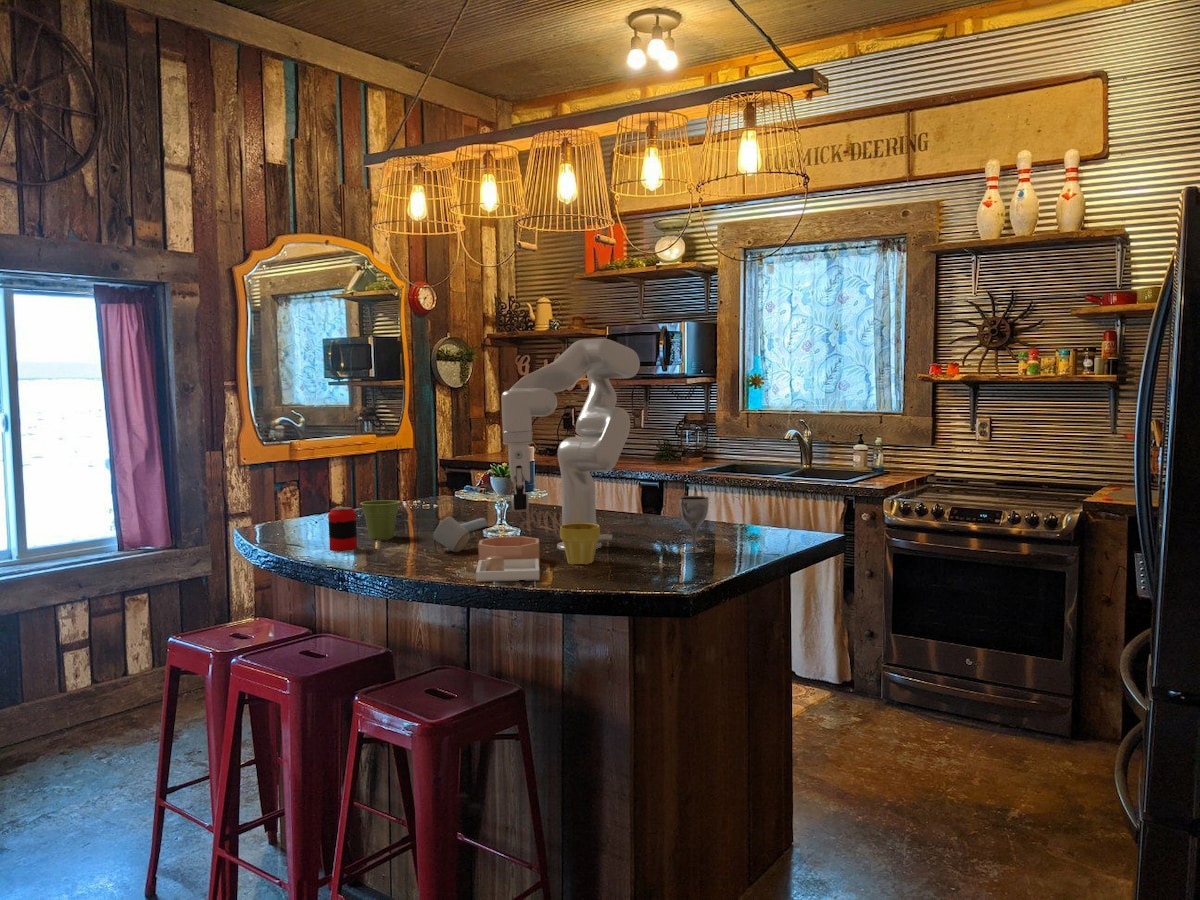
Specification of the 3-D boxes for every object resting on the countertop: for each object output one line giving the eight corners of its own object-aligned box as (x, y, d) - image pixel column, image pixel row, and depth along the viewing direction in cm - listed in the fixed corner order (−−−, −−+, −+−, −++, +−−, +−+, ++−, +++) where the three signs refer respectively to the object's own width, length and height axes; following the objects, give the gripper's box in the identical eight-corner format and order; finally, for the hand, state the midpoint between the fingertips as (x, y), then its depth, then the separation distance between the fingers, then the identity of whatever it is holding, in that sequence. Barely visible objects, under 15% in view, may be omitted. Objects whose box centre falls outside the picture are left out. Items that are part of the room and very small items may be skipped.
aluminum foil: (451, 539, 286) (451, 528, 286) (432, 538, 288) (432, 527, 288) (487, 528, 307) (487, 518, 307) (469, 527, 309) (469, 517, 309)
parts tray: (538, 568, 239) (538, 558, 239) (539, 580, 224) (539, 570, 224) (479, 569, 238) (478, 560, 238) (476, 582, 223) (475, 572, 223)
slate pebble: (528, 508, 247) (527, 493, 247) (528, 511, 243) (528, 496, 242) (511, 509, 247) (511, 494, 246) (511, 512, 242) (511, 496, 242)
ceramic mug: (453, 559, 261) (459, 540, 257) (430, 542, 263) (436, 523, 258) (475, 540, 269) (481, 521, 265) (452, 524, 271) (458, 505, 267)
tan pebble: (504, 571, 233) (504, 555, 233) (504, 575, 229) (503, 558, 228) (486, 571, 233) (486, 556, 233) (485, 575, 228) (485, 559, 228)
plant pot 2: (586, 568, 238) (585, 530, 238) (552, 564, 244) (552, 527, 243) (607, 561, 247) (607, 524, 246) (574, 557, 253) (574, 521, 252)
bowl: (538, 555, 256) (538, 535, 255) (539, 567, 240) (539, 545, 240) (480, 557, 255) (480, 537, 254) (478, 569, 239) (477, 547, 239)
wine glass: (712, 550, 261) (712, 496, 260) (703, 555, 254) (703, 500, 252) (685, 548, 264) (685, 495, 263) (675, 553, 257) (675, 498, 256)
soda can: (331, 553, 263) (329, 511, 262) (328, 549, 270) (326, 507, 269) (358, 551, 266) (357, 509, 265) (355, 547, 273) (353, 506, 272)
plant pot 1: (409, 537, 288) (408, 501, 288) (381, 543, 278) (380, 505, 278) (381, 534, 295) (380, 498, 294) (353, 540, 285) (351, 503, 284)
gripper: (533, 440, 235) (535, 512, 237) (531, 434, 252) (533, 502, 253) (503, 441, 234) (505, 514, 236) (502, 435, 251) (505, 503, 253)
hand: (520, 507), depth 245 cm, fingers closed on slate pebble, 4 cm apart
